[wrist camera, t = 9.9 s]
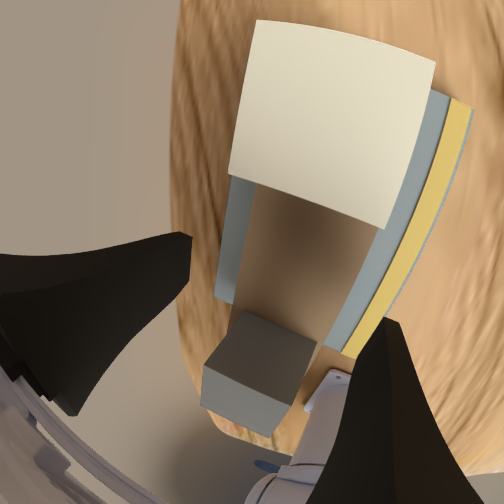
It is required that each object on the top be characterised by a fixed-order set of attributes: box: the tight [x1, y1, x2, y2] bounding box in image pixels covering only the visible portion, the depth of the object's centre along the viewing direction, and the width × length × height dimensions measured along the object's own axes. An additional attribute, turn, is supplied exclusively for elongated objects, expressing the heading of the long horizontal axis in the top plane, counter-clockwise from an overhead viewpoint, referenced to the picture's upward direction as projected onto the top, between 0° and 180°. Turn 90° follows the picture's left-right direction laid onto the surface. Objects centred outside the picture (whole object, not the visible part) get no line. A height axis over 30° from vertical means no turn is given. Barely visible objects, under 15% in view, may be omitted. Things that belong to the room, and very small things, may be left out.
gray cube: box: [200, 311, 317, 438], centre depth 14 cm, size 4×4×4 cm
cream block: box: [228, 20, 436, 229], centre depth 7 cm, size 4×4×4 cm
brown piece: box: [227, 183, 379, 378], centre depth 14 cm, size 5×16×5 cm, turn 169°
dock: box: [214, 88, 474, 359], centre depth 17 cm, size 12×18×2 cm, turn 169°
